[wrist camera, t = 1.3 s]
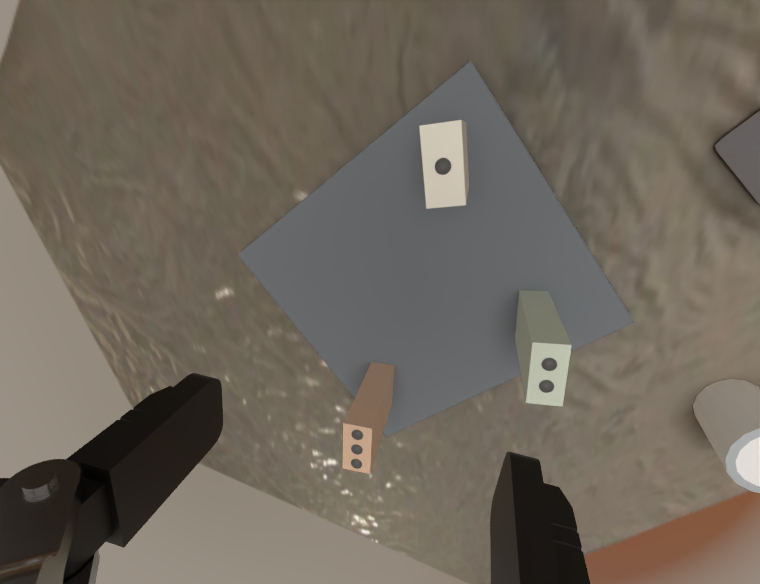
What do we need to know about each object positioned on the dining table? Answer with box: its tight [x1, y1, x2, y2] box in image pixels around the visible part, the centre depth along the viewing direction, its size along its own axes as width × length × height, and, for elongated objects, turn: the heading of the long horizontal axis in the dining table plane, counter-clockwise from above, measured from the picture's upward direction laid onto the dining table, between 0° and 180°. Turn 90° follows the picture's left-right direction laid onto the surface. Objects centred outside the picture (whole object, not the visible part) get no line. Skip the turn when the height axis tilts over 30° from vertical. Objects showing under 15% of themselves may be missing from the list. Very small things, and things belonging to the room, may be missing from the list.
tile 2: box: [515, 290, 572, 406], centre depth 33 cm, size 2×5×10 cm, turn 2°
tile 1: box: [419, 120, 469, 209], centre depth 30 cm, size 2×5×10 cm, turn 7°
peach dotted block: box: [343, 362, 395, 474], centre depth 40 cm, size 2×5×10 cm, turn 177°
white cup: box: [693, 379, 760, 493], centre depth 34 cm, size 7×7×7 cm
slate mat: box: [238, 61, 634, 437], centre depth 39 cm, size 26×28×1 cm
